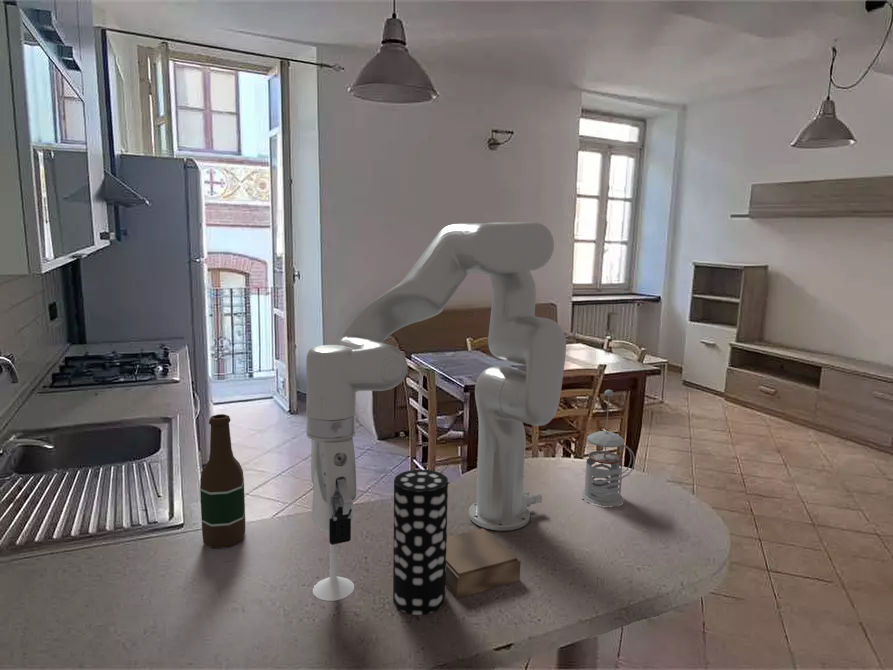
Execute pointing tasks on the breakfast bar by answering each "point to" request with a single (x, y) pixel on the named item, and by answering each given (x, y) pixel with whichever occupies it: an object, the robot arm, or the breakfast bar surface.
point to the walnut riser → (478, 563)
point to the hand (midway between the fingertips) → (331, 528)
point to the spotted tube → (420, 541)
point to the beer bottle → (222, 490)
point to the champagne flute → (332, 585)
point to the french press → (601, 489)
